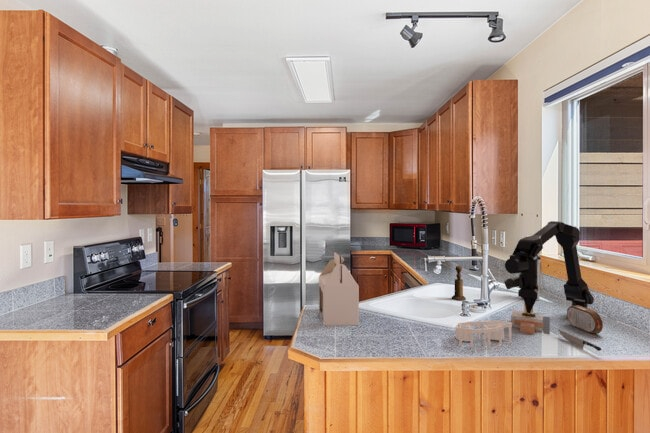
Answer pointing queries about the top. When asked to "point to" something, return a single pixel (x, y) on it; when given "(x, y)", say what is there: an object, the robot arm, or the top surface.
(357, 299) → the gable box
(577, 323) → the tin
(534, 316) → the clevis bracket
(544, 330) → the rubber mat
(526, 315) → the brass pin
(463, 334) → the car outline toy
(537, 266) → the water bottle
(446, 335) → the top surface
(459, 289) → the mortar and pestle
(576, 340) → the chef's knife
